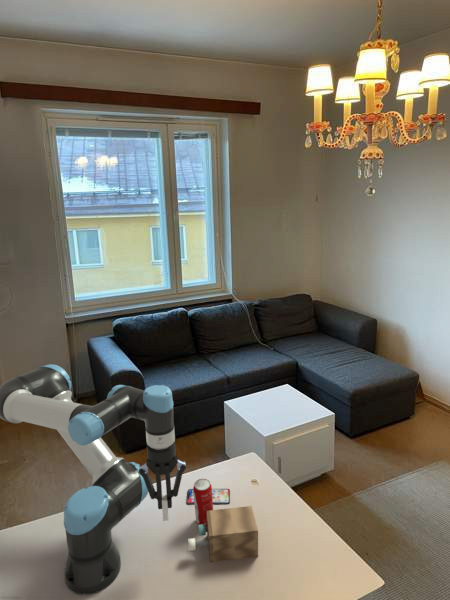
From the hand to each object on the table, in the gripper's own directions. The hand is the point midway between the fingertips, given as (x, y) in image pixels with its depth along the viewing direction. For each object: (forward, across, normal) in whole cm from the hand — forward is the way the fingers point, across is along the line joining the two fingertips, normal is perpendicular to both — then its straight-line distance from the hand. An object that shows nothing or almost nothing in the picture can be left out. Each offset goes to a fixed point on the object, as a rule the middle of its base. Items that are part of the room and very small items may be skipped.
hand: (165, 517), depth 119 cm
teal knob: (+12, +13, +5) cm, 18 cm away
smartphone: (+15, +14, +24) cm, 32 cm away
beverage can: (+15, +12, +13) cm, 23 cm away
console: (+15, +19, +2) cm, 24 cm away
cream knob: (+12, +10, 0) cm, 15 cm away
